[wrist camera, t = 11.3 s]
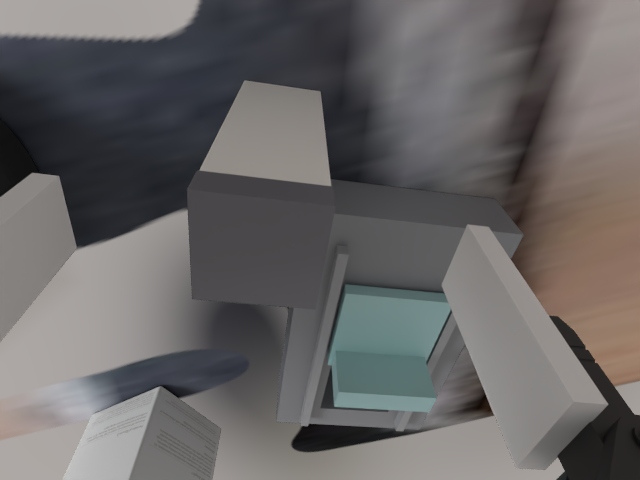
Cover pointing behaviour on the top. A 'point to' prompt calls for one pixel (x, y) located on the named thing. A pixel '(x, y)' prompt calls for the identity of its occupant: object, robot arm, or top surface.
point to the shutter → (385, 348)
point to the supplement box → (146, 442)
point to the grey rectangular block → (263, 202)
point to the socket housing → (385, 272)
